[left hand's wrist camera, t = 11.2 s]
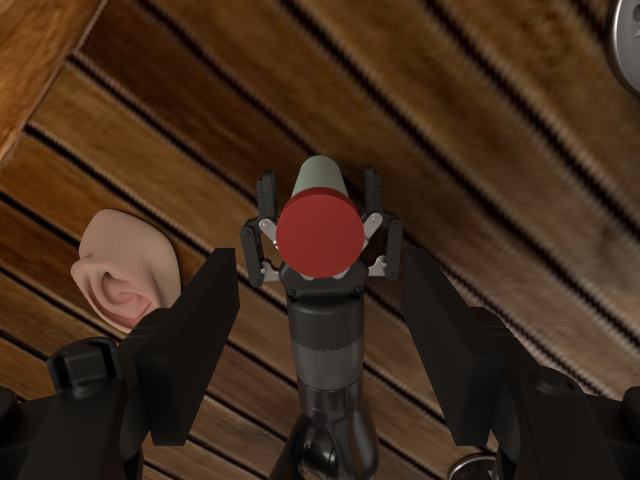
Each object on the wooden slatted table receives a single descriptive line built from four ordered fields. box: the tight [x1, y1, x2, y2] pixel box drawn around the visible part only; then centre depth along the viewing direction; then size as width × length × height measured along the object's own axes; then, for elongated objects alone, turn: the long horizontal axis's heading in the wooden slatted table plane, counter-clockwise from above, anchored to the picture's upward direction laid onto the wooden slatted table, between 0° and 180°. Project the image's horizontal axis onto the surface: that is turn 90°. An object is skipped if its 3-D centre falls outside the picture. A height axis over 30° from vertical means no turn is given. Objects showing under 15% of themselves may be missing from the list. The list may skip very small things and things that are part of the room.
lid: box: [275, 187, 365, 278], centre depth 20 cm, size 5×5×2 cm
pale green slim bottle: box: [291, 155, 349, 198], centre depth 28 cm, size 4×4×18 cm
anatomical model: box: [71, 209, 181, 333], centre depth 38 cm, size 13×4×12 cm
